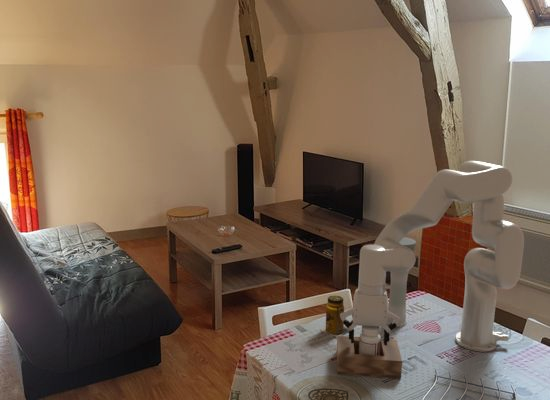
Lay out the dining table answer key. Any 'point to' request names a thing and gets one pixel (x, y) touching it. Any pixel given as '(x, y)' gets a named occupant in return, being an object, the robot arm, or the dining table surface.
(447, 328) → the dining table surface
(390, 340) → the well block
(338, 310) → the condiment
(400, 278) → the container
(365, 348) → the pill bottle
